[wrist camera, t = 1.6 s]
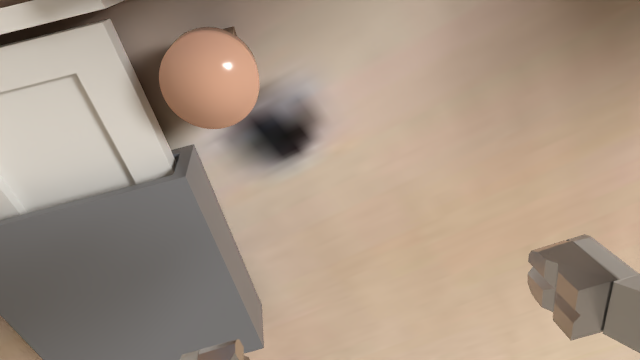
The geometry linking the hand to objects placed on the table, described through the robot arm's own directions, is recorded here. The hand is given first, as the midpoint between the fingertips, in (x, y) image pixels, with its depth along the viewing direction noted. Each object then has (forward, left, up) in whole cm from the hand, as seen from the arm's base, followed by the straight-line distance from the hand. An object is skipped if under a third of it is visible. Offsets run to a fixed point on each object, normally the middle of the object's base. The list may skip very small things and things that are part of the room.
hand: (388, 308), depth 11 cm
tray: (+1, -18, -24) cm, 30 cm away
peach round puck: (-2, -5, -20) cm, 21 cm away
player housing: (+14, -18, -24) cm, 33 cm away
